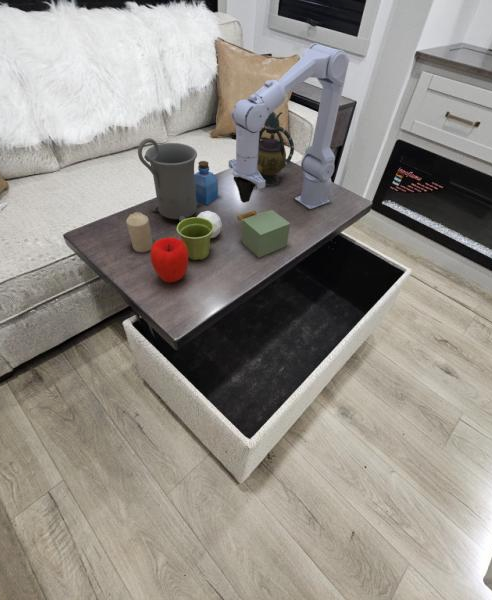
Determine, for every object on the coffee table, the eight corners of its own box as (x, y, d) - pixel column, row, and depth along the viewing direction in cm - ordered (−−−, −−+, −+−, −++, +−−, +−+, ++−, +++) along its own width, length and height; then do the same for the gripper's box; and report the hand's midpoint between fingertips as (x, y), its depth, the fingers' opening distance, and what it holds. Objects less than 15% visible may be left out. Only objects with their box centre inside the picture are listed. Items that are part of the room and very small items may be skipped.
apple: (174, 295, 81) (168, 260, 73) (147, 280, 84) (139, 246, 76) (197, 275, 86) (194, 241, 79) (171, 262, 89) (166, 228, 81)
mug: (182, 196, 113) (174, 116, 95) (214, 213, 107) (212, 131, 89) (136, 219, 102) (117, 133, 84) (169, 239, 96) (155, 151, 78)
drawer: (232, 229, 100) (232, 211, 96) (256, 221, 104) (257, 203, 100) (256, 251, 94) (257, 232, 89) (280, 240, 98) (283, 223, 93)
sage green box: (241, 242, 97) (242, 219, 92) (269, 232, 102) (271, 209, 96) (258, 258, 93) (260, 234, 87) (286, 246, 97) (290, 223, 92)
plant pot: (200, 269, 88) (198, 242, 82) (172, 255, 91) (168, 229, 85) (221, 251, 94) (220, 225, 87) (194, 239, 97) (192, 213, 91)
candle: (148, 254, 91) (141, 222, 84) (129, 250, 91) (121, 219, 84) (156, 242, 95) (150, 211, 88) (138, 239, 95) (131, 207, 88)
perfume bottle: (218, 197, 114) (217, 162, 105) (206, 204, 110) (205, 169, 101) (203, 191, 116) (201, 157, 107) (192, 198, 112) (189, 163, 103)
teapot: (292, 176, 128) (302, 109, 111) (255, 202, 113) (260, 129, 96) (266, 167, 132) (272, 101, 115) (227, 190, 117) (227, 119, 101)
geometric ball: (211, 247, 99) (209, 239, 91) (190, 230, 99) (186, 221, 91) (227, 227, 100) (227, 218, 92) (206, 211, 100) (204, 200, 92)
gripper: (218, 146, 89) (219, 193, 99) (250, 168, 81) (248, 216, 91) (240, 141, 92) (239, 187, 102) (273, 162, 84) (268, 209, 94)
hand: (245, 201), depth 96 cm, fingers closed
